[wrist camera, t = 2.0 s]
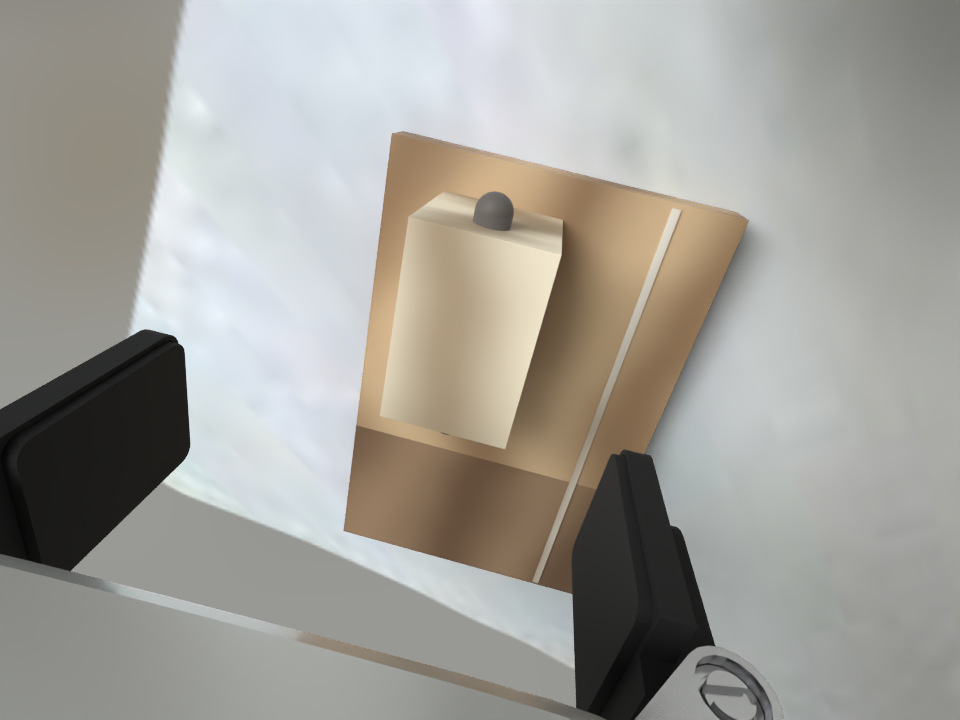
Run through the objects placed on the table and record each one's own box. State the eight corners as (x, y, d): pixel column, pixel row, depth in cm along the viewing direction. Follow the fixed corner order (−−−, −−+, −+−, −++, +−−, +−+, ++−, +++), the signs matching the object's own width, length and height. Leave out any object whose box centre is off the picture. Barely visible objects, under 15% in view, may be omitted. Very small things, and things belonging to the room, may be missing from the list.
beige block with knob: (570, 192, 19) (571, 219, 14) (511, 400, 23) (498, 471, 18) (449, 162, 19) (413, 180, 15) (413, 374, 23) (376, 438, 19)
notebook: (736, 212, 20) (749, 221, 18) (580, 573, 29) (580, 597, 27) (403, 131, 20) (391, 133, 19) (353, 511, 29) (343, 532, 28)
